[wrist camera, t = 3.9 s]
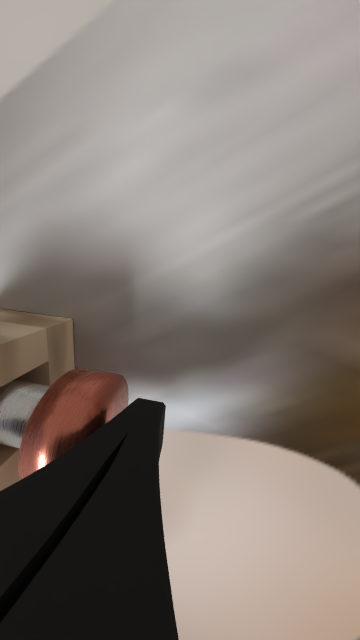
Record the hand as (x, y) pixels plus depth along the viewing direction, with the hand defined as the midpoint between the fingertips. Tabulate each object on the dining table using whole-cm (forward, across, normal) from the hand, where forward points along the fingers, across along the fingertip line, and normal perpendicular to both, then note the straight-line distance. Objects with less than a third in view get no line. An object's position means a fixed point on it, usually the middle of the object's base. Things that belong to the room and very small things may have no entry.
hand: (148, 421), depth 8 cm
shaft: (+1, +6, 0) cm, 6 cm away
